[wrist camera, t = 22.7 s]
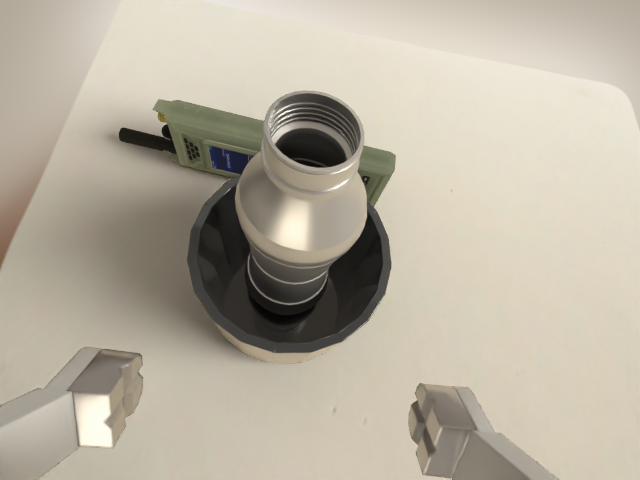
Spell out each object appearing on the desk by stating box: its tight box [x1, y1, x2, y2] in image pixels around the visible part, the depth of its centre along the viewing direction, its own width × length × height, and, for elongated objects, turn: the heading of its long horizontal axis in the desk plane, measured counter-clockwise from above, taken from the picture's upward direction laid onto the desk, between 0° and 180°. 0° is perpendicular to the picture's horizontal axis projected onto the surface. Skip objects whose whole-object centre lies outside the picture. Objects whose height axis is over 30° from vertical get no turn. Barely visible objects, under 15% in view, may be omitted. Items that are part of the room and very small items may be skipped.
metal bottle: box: [235, 91, 367, 315], centre depth 22 cm, size 6×7×20 cm
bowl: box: [187, 174, 391, 364], centre depth 28 cm, size 13×13×9 cm
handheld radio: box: [119, 100, 396, 207], centre depth 33 cm, size 7×3×25 cm
